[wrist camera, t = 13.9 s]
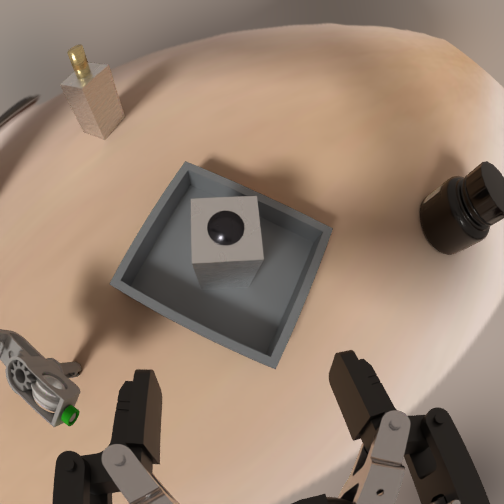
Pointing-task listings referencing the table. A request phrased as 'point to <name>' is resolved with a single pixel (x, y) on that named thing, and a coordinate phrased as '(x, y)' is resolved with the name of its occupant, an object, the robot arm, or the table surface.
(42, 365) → the mechanical component
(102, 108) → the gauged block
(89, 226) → the table surface
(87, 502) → the robot arm
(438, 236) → the ink bottle
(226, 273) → the block
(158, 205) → the tray
